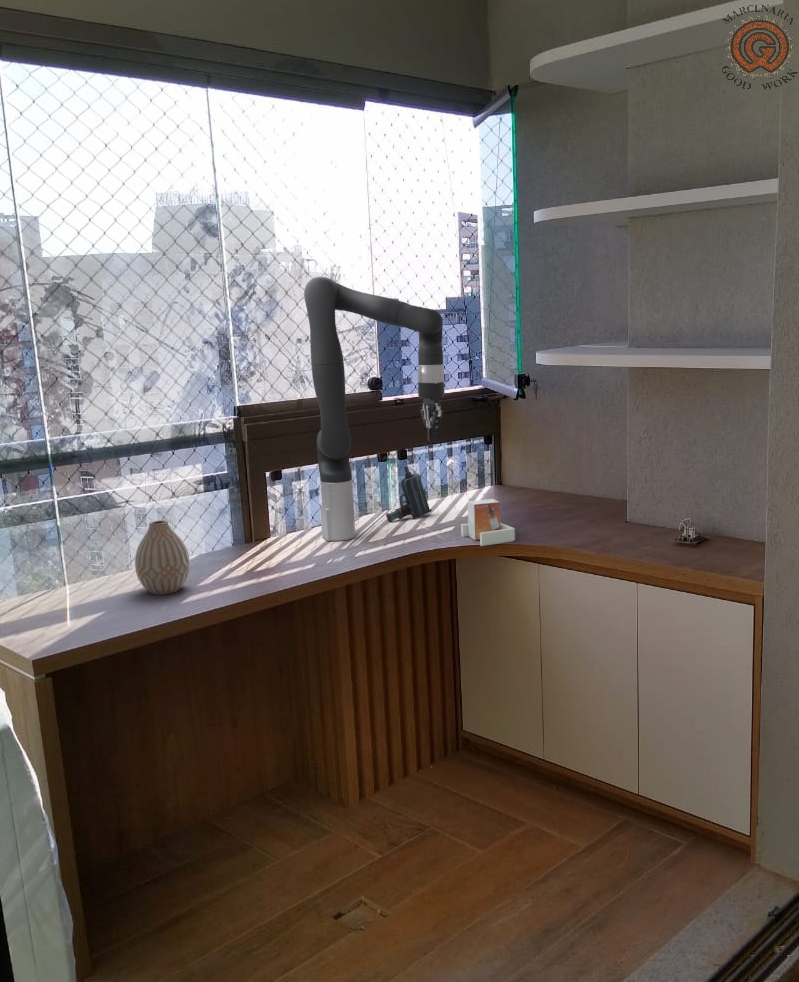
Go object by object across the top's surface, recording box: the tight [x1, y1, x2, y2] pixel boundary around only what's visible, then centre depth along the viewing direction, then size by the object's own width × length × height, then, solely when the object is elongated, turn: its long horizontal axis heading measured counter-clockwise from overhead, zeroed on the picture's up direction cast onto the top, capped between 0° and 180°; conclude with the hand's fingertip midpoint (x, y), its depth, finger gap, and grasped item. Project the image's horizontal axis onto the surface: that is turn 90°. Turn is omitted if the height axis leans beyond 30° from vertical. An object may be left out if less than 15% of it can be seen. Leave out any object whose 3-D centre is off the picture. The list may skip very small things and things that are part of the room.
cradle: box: [460, 522, 516, 547], centre depth 271 cm, size 11×13×4 cm
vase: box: [134, 519, 191, 596], centre depth 233 cm, size 13×13×18 cm
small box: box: [467, 498, 501, 541], centre depth 272 cm, size 8×6×10 cm
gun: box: [385, 465, 433, 523], centre depth 299 cm, size 3×17×15 cm
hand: (432, 441), depth 273 cm, fingers closed
